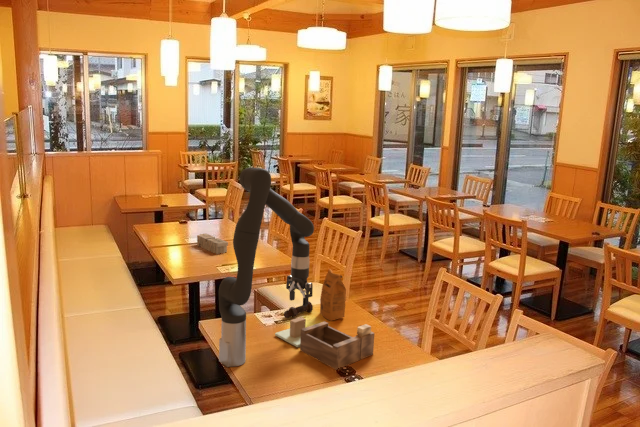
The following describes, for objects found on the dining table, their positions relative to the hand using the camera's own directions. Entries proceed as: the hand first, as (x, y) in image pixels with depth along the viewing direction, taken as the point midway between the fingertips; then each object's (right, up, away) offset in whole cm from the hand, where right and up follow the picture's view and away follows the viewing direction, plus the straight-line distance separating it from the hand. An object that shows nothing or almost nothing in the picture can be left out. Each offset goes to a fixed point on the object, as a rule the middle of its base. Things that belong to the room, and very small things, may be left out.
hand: (298, 302), depth 229 cm
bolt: (-2, -11, +29) cm, 31 cm away
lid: (-1, -16, +3) cm, 16 cm away
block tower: (-64, +13, +136) cm, 151 cm away
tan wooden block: (+27, -10, -12) cm, 31 cm away
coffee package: (+15, -11, +29) cm, 35 cm away
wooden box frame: (+16, -19, -8) cm, 26 cm away
